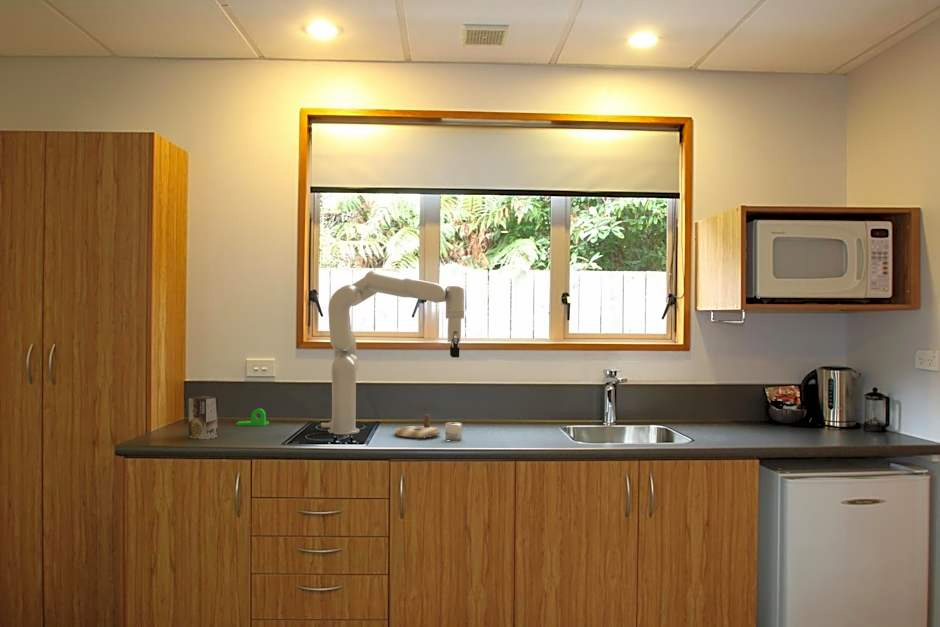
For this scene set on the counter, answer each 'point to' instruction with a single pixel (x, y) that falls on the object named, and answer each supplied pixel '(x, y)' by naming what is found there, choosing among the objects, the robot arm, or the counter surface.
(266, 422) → the mechanical part
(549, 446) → the counter surface
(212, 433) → the coffee box
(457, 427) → the silver rounded piece
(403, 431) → the turntable
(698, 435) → the counter surface
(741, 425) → the counter surface
